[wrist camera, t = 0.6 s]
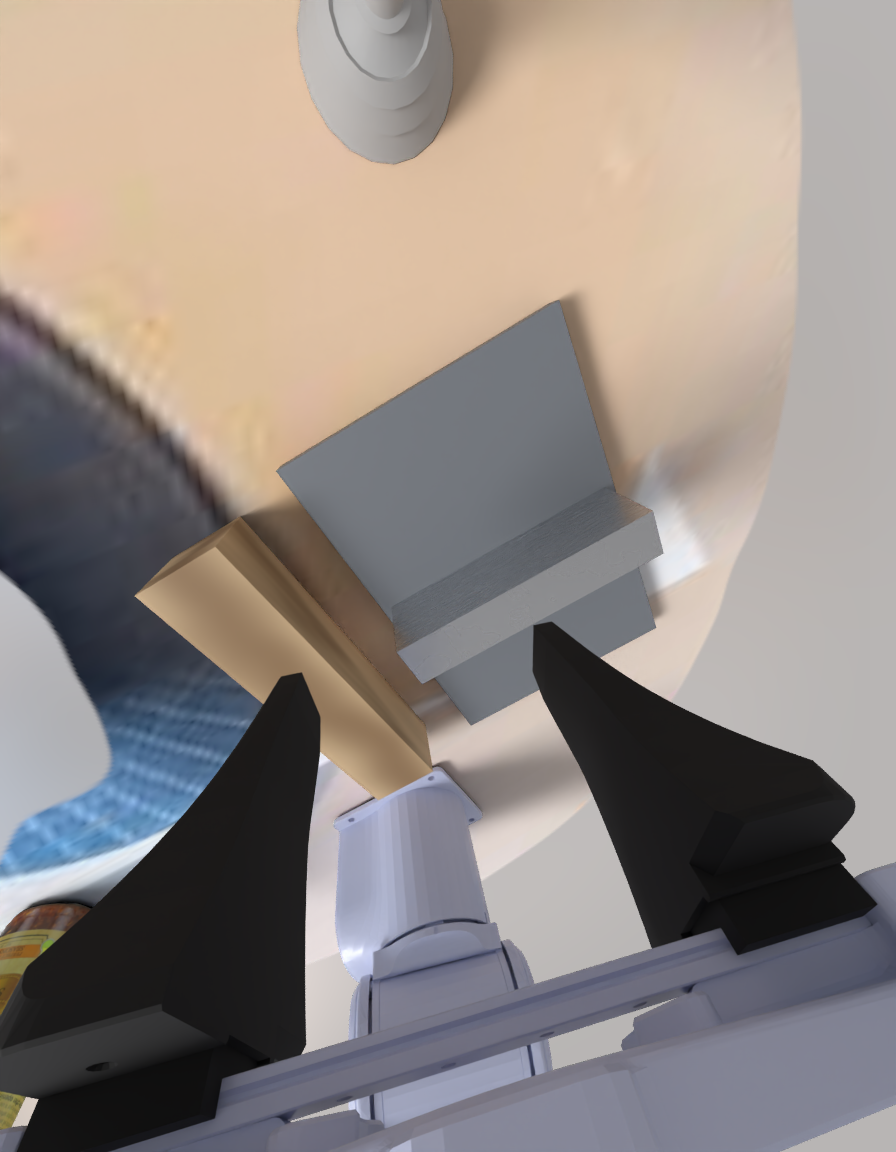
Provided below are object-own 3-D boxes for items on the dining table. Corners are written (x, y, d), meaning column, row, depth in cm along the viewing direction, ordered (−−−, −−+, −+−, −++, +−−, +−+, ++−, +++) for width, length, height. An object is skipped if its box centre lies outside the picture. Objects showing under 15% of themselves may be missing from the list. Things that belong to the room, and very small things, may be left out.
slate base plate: (467, 714, 28) (471, 725, 27) (280, 466, 18) (276, 471, 17) (646, 619, 27) (656, 627, 26) (549, 303, 17) (558, 300, 16)
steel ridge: (413, 635, 23) (422, 684, 19) (391, 606, 22) (396, 652, 18) (616, 523, 22) (663, 553, 18) (604, 486, 21) (652, 510, 17)
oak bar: (376, 747, 28) (378, 800, 25) (175, 555, 20) (134, 596, 16) (424, 721, 28) (433, 771, 25) (241, 514, 19) (214, 546, 16)
